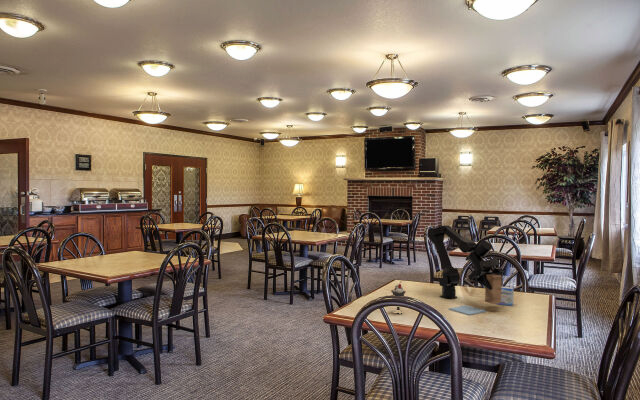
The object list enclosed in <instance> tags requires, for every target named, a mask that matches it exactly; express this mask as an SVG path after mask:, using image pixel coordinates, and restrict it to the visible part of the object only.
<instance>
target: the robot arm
mask: <svg viewBox="0 0 640 400" xmlns="http://www.w3.org/2000/svg"><path fill="white" fill-rule="evenodd" d="M445 236H446V237H448V238H449V239H451V241H453V242H454V243H455V244H456V245H457V247H458V249H459V250H460V251H461V252H462V253H463V254H466V257H465V261H470V263H471V264H472V266H473V267H472V269H473V270H472V271H471V273H469V274H468V280H469V282H476V283H478V284H480V285H482V286H484V287H485V288H486V287H487V288H488V289H490V290H492V287H491V285H490V283H489V281H488V280H487V275H489V274H495V275H500V276H502V274H503V273H505V271H504V269H503V268H502V267H498V265H499V263H500V261H499V260H498V258H497V257H493V258H489V259H486V260H485V259H484V258H485V257H486V256H487V255H488V254H489V253H490V252H491V250H492V249H493V245H492V244H491V243H490V242H489V241H487V240H486V239H480V240H479V241H478V243H477V242H475V241H474V240H472V239H469V238H465V237H464V236H463V235H461V234H460V233H458V231H456V230H455V229H454V228H452V227H451V226H450V225H448V224H447V225H441V226H437V227H430V228H429V229H428V230H427V237H428V238H429V240H430V242H431V243H432V244H434V246H435V250H436V252H437V256H438V258H439V261H440V264H441V267H442V272H441V277H442V278H441V279H440V280H439V282H438V284H439V286H440V287H441V295H439V296H440V297H441V298H443V299H448V300H449V299H450V300H451V299H457V298H458V297H457V296H456V295H457V294H456V293H457V292H456V287H457V286H459V283H460V279H461V277H460V276H461V274H460V272H459V270H458V267H455V268H454V266H453V264H452V262H451V259H450V256H449V254H448V253H449V252H448V250H447V248H446V246H445V243H444V242H445V241H444V240H445ZM483 257H484V258H483ZM494 267H495V268H494ZM440 297H439V298H440Z"/></svg>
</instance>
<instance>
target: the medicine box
mask: <svg viewBox="0 0 640 400" xmlns="http://www.w3.org/2000/svg"><path fill="white" fill-rule="evenodd" d="M514 289H515V288H514V287H510V286H501V303H499V304H497V305H501V306H509V307H513V305H514V297H515V296H514V291H515V290H514Z"/></svg>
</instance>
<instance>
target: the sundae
mask: <svg viewBox="0 0 640 400" xmlns="http://www.w3.org/2000/svg"><path fill="white" fill-rule="evenodd" d="M401 283H402V281H400V283H399V284H397V285H394V289H391V291H390V292H391V293H392V296H393V295H395V296H404V297H405V294H406V291H405V290H404V289H403V286H402V284H401ZM396 310H400V311H401V308H400V307H397V306H396Z"/></svg>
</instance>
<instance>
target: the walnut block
mask: <svg viewBox="0 0 640 400" xmlns="http://www.w3.org/2000/svg"><path fill="white" fill-rule="evenodd" d="M502 278H503V276H502V275H501V276H500V275H495V274H489V275H487V280H488V281H489V283H490V285H491V287H492V290H490V289H488V288H487V287H485V289H484V291H485V292H484V302H485V303H487V304H488V303H489V304H492V305H498V304H499V303H501V287H502V286H503V285H502V283H503V281H502V280H503V279H502Z"/></svg>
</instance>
